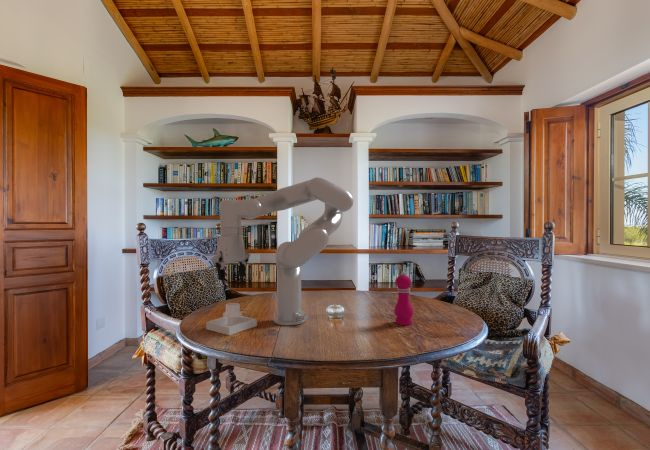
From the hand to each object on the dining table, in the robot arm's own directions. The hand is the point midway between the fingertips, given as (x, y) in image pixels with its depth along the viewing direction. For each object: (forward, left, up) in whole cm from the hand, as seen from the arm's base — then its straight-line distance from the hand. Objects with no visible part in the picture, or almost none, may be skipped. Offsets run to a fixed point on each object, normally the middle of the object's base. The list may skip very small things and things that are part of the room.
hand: (232, 278), depth 128 cm
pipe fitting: (0, 0, -18) cm, 18 cm away
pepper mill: (-52, -40, -19) cm, 68 cm away
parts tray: (0, 0, -19) cm, 19 cm away
